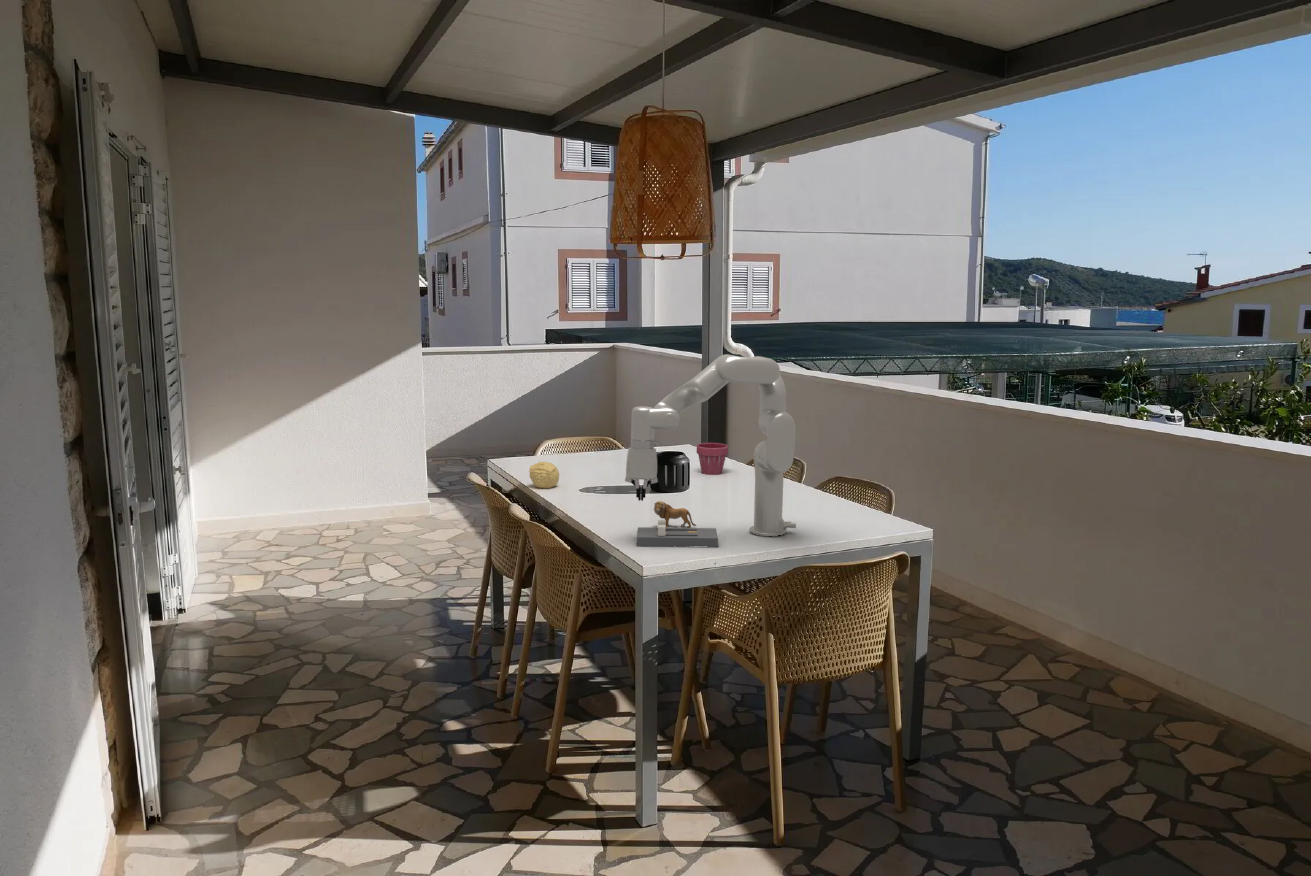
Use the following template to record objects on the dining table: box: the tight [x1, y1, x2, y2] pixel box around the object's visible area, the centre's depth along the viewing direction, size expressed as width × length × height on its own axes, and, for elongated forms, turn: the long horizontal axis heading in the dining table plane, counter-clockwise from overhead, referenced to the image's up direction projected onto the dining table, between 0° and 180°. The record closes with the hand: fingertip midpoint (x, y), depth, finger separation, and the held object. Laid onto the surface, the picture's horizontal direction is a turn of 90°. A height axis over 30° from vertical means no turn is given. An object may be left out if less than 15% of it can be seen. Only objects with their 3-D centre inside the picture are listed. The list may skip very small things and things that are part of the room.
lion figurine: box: [653, 500, 697, 528], centre depth 329 cm, size 15×5×9 cm, turn 88°
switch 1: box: [657, 519, 666, 531], centre depth 313 cm, size 2×3×4 cm
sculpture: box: [528, 461, 560, 489], centre depth 394 cm, size 12×12×11 cm
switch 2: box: [657, 524, 667, 536], centre depth 306 cm, size 2×3×4 cm
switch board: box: [636, 526, 719, 548], centre depth 309 cm, size 26×13×3 cm, turn 89°
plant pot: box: [696, 442, 729, 476], centre depth 428 cm, size 14×14×13 cm
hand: (640, 499), depth 311 cm, fingers closed
